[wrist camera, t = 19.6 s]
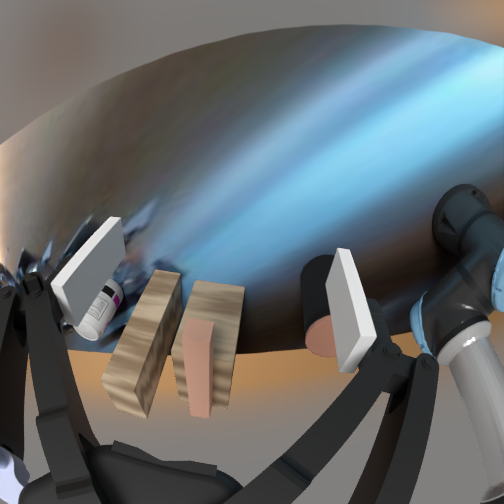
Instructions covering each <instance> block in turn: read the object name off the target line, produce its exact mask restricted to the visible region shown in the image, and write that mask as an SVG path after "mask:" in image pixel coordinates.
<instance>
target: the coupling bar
mask: <svg viewBox="0 0 504 504" xmlns="http://www.w3.org/2000/svg"><path fill="white" fill-rule="evenodd" d="M182 348H183V357H184V366H185V374H186V382H187V390H188V397H189V404H190V411H191V415H192V416H196V417H202V418H207V419H209V418H210V413H211V407H212V390H213V348H214V322H210V321H204V320H198V319H192V318H188V319H187V322H186V326H185V329H184V332H183V335H182Z"/></svg>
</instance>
